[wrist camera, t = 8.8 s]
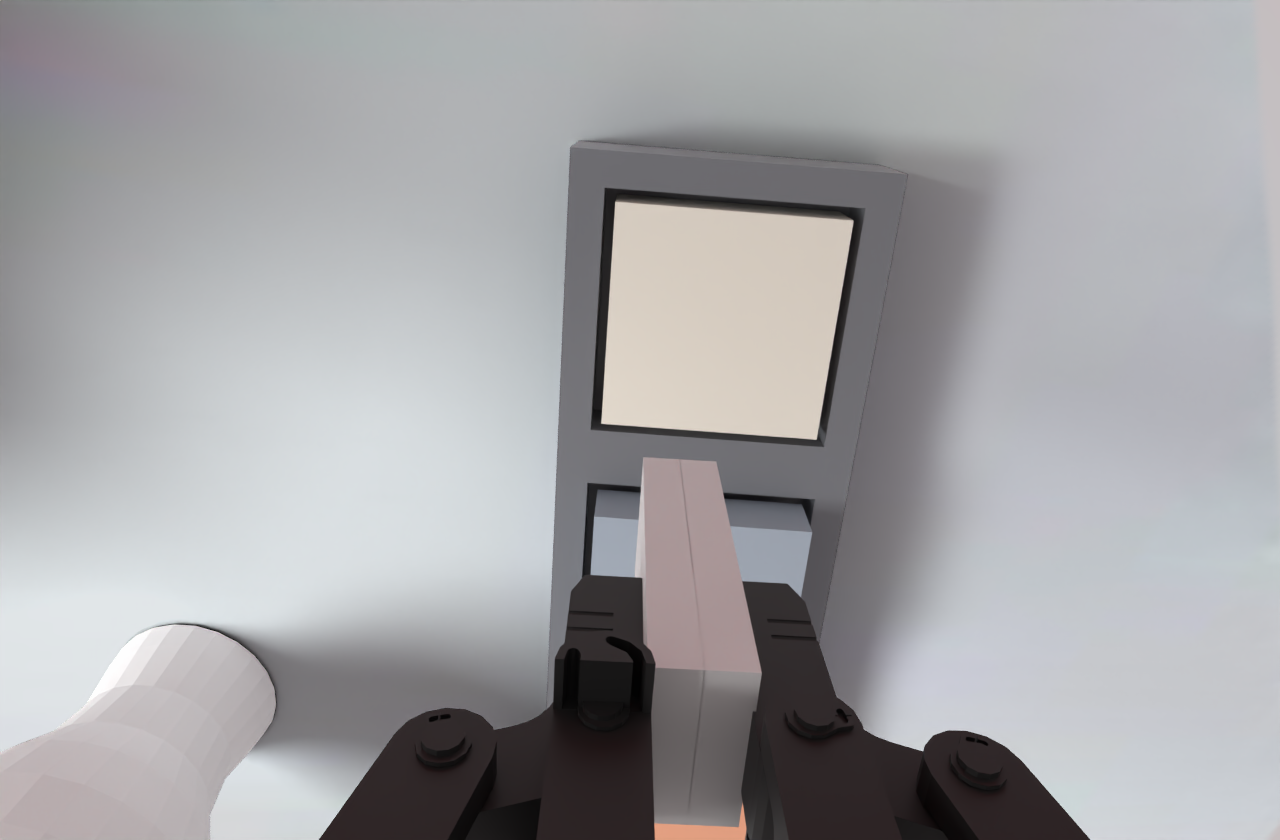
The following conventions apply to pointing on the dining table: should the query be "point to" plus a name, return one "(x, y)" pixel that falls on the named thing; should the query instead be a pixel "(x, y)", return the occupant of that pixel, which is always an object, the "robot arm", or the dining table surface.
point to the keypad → (742, 460)
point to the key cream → (722, 315)
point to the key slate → (760, 532)
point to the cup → (142, 744)
